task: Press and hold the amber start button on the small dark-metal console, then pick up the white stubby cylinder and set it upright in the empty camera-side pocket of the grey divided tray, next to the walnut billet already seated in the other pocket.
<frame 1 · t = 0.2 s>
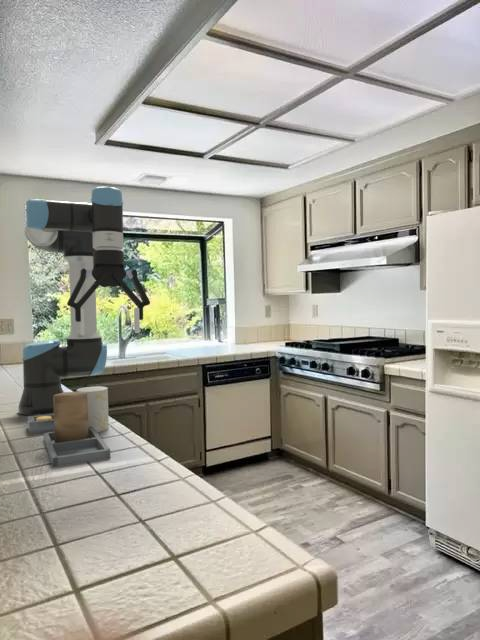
hand: (110, 334, 121), 28 cm above the counter, fingers open, 13 cm apart
console: (44, 432, 132), on the counter
grey divided tray: (75, 451, 113), on the counter
button: (44, 423, 132), point 2 cm above the counter, slide at 1.5 cm
billet: (71, 442, 118), point 1 cm above the counter, touching grey divided tray
white stubby cylinder: (93, 432, 131), on the counter
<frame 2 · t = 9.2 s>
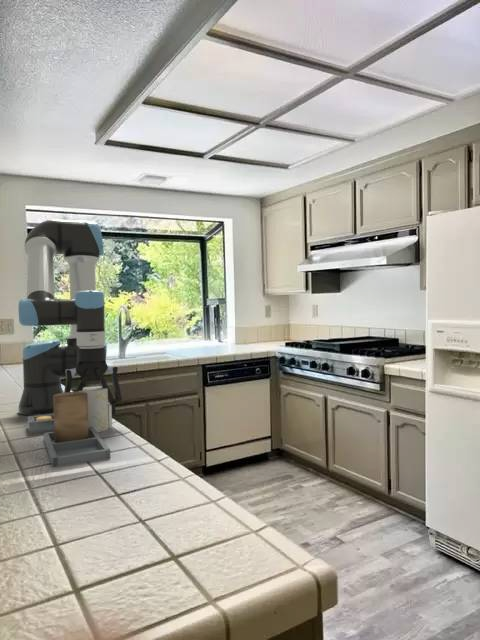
hand: (93, 429, 131), 1 cm above the counter, fingers closed on white stubby cylinder, 8 cm apart
white stubby cylinder: (93, 432, 131), on the counter, touching gripper
everything else where it was.
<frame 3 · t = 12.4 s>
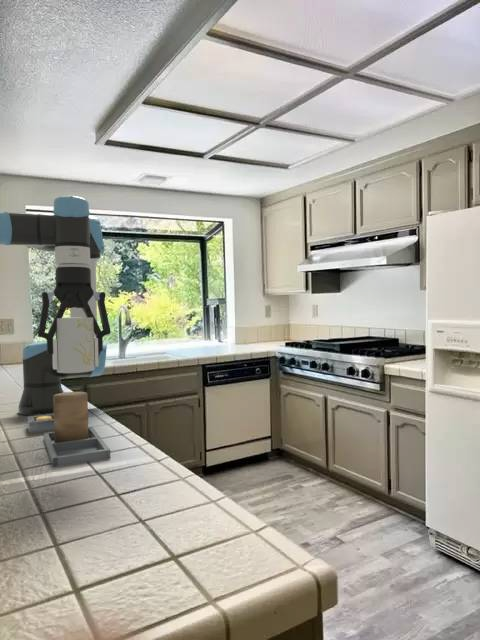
hand: (75, 367, 108), 21 cm above the counter, fingers closed on white stubby cylinder, 8 cm apart
white stubby cylinder: (76, 371, 108), point 20 cm above the counter, touching gripper
everything else where it was.
when the fingers open (4 cm above the counter, at t = 15.8 s): white stubby cylinder drops 3 cm, resting on grey divided tray.
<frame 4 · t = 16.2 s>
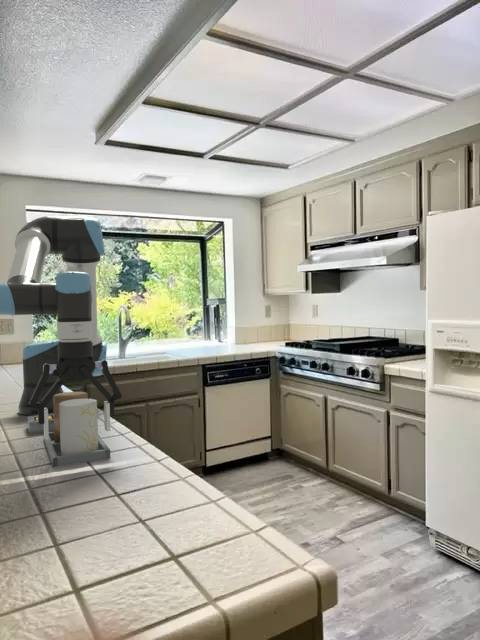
hand: (77, 433, 108), 6 cm above the counter, fingers open, 13 cm apart
white stubby cylinder: (79, 455, 109), point 1 cm above the counter, touching grey divided tray
everything else where it was.
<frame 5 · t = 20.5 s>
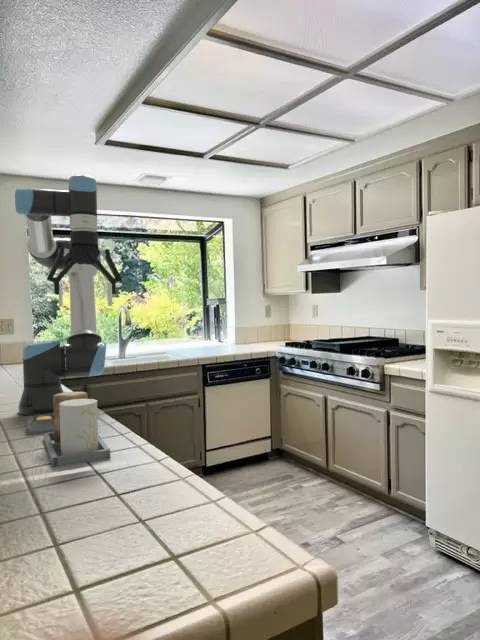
hand: (86, 306, 136), 35 cm above the counter, fingers open, 13 cm apart
nothing on the counter moved.
at the end: white stubby cylinder inside the target area on the grey divided tray (0.4 cm from its centre), point 0.6 cm above the grey divided tray's base; white stubby cylinder tilted 0°; billet moved 0.0 cm from its start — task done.
